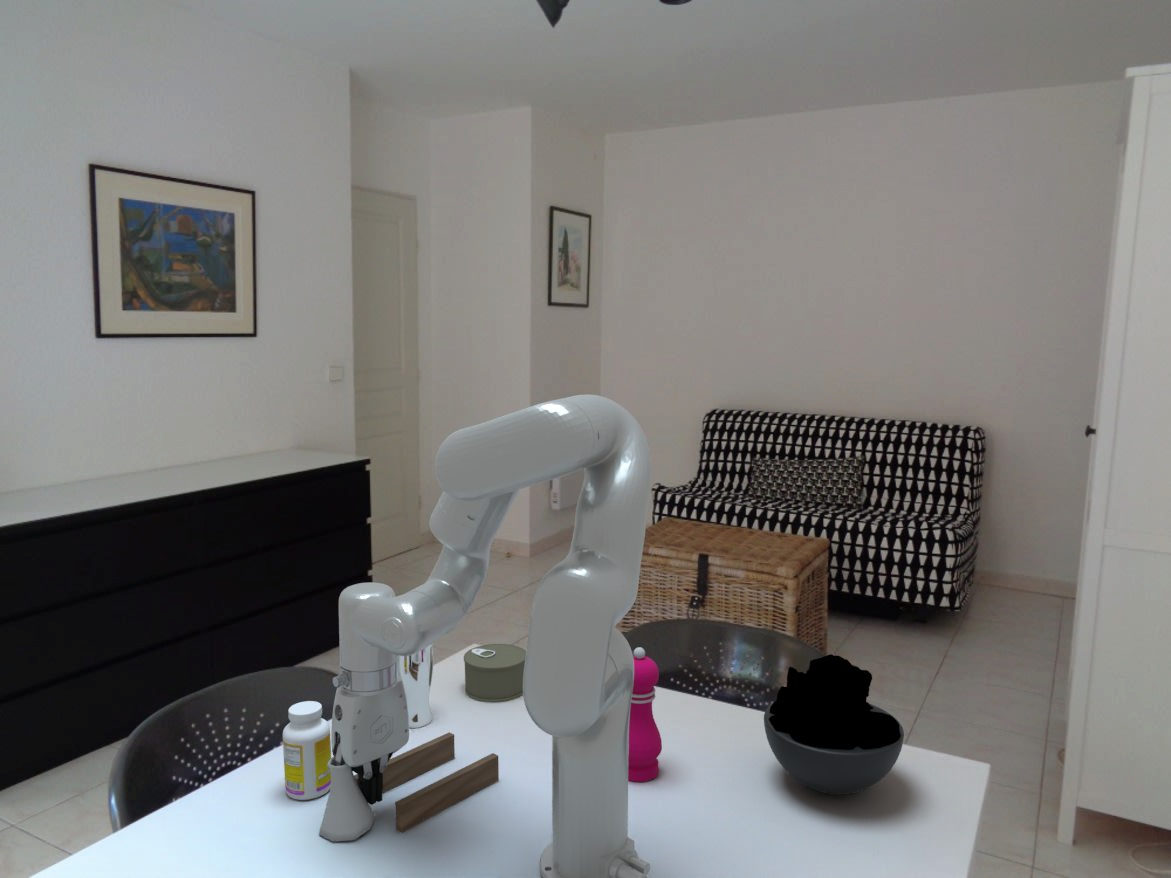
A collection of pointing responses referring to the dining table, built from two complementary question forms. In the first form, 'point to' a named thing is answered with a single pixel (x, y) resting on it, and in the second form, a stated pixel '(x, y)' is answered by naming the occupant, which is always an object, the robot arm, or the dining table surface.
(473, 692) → the can
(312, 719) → the supplement bottle
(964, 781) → the dining table surface
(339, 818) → the flask
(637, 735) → the pepper mill
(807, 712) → the bowl of black rocks
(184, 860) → the dining table surface
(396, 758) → the chute
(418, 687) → the beer glass
